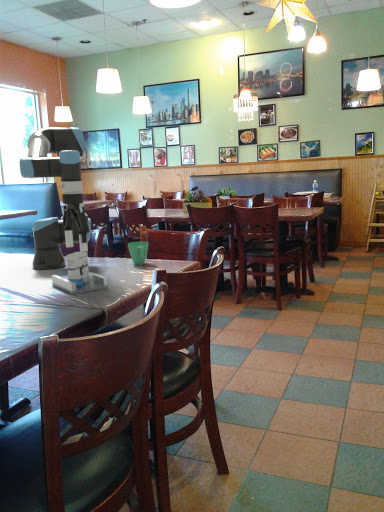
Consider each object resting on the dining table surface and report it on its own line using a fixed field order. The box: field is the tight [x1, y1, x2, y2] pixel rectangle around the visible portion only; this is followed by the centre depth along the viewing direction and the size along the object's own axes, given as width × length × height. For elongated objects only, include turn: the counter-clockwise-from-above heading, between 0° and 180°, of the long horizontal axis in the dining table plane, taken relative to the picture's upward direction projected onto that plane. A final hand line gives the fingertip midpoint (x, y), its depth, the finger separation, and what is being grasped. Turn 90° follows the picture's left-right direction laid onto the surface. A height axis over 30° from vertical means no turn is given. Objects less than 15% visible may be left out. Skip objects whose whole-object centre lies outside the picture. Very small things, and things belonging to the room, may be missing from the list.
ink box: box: [65, 251, 90, 286], centre depth 171 cm, size 8×5×12 cm, turn 166°
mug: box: [127, 241, 149, 266], centre depth 212 cm, size 15×10×10 cm
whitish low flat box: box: [51, 271, 109, 295], centre depth 172 cm, size 20×14×4 cm
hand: (76, 249), depth 170 cm, fingers open, 13 cm apart
